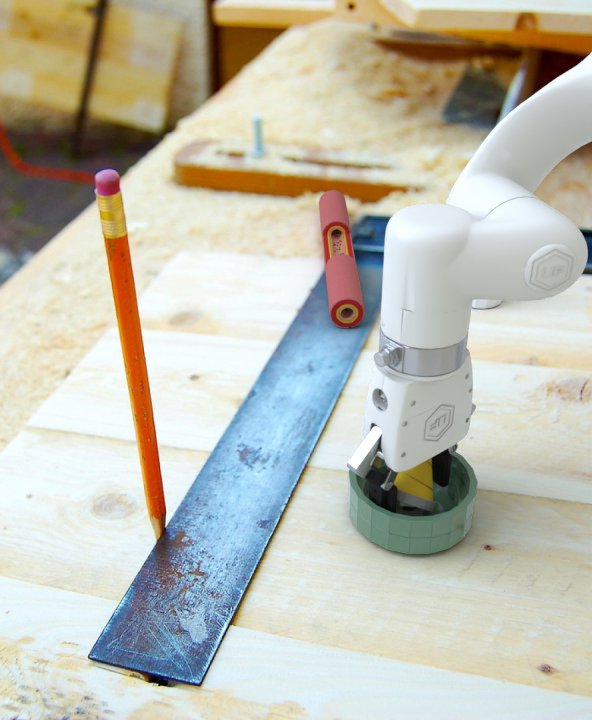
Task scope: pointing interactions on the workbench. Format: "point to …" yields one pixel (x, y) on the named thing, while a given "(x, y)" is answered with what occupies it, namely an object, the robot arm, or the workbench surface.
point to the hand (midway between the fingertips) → (408, 493)
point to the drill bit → (416, 490)
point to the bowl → (418, 530)
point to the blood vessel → (340, 262)
